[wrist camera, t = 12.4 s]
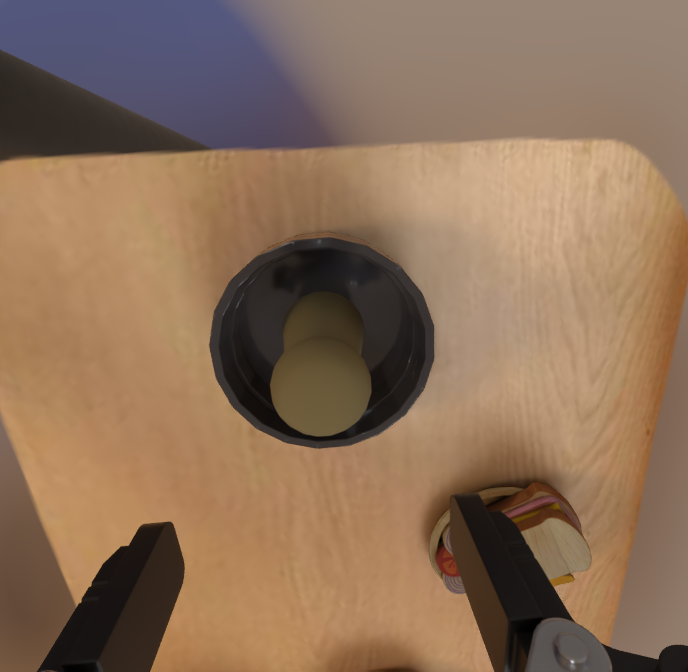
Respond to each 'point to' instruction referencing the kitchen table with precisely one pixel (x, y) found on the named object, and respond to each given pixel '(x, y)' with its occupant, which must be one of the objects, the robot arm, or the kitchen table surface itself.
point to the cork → (321, 366)
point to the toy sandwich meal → (524, 533)
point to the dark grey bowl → (317, 276)
